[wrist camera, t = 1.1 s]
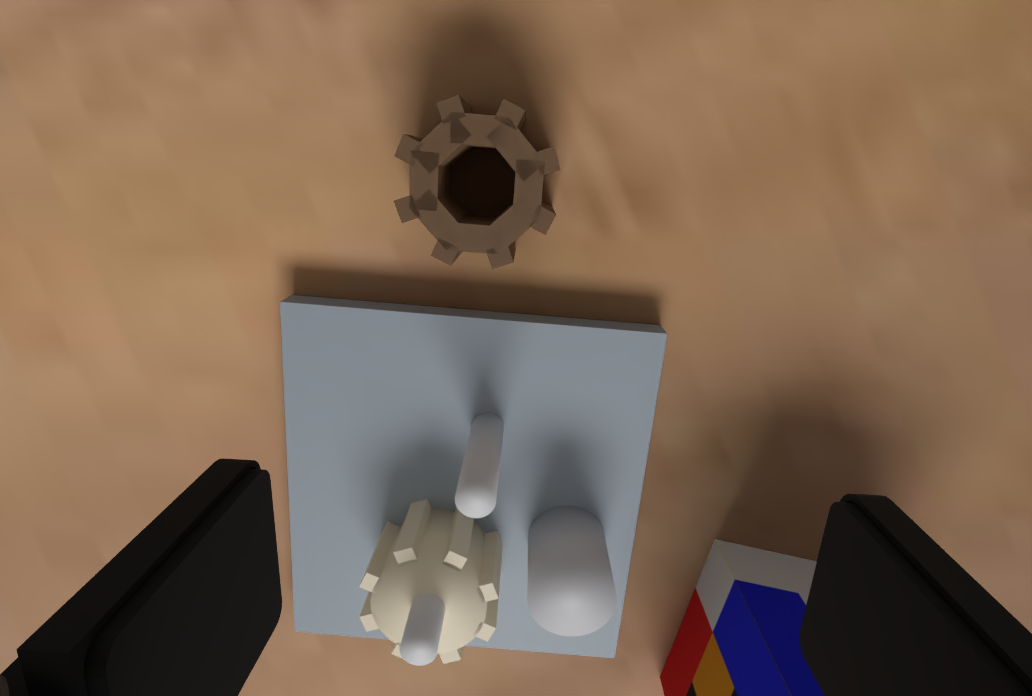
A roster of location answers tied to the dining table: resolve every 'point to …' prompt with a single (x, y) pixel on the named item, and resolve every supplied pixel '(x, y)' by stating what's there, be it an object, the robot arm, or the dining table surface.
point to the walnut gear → (435, 173)
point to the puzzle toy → (743, 627)
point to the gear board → (421, 432)
